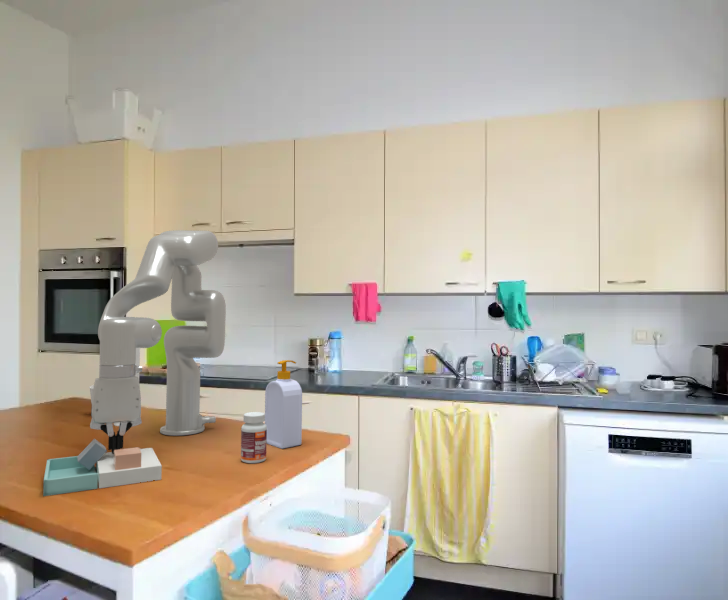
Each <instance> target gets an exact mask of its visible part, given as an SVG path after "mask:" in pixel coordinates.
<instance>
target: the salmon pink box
mask: <svg viewBox="0 0 728 600" xmlns="http://www.w3.org/2000/svg"><path fill="white" fill-rule="evenodd" d="M140 449H141V448H140V447H137V446H136V447H128V448H122V449H118V450H114V467H115V470H121V469H129V468H137V467H141V451H140Z"/></svg>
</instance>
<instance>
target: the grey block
mask: <svg viewBox="0 0 728 600" xmlns="http://www.w3.org/2000/svg"><path fill="white" fill-rule="evenodd" d="M107 452H108V451H107V448H106V446H105V445H103V444H102V443H101V442H100V441H98V440H97V439H96V438H93V439H92V440H91V442H90V443H89V444H88V445H87V446H85V448H84V449H83V450H82V451H81V452H80V453H79V454H78V455H76V456H77V459H78V462H79V463H80V464H82V465H83V466H85V467H86V468H87V469H89V470H90V469H91V468H92V466H93V465H94V464H95V465H96V462H97V461H98V460H99V459H100V458H101V457H102V456H103V455H104V453H107Z"/></svg>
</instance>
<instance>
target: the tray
mask: <svg viewBox="0 0 728 600" xmlns="http://www.w3.org/2000/svg"><path fill="white" fill-rule="evenodd" d="M77 456H78V455H76V456H75V455H74V456H67V457H56V458H49V459H48V458H47V459H46V466H45V470H44V471H45V472H44V475H43V476H44V477H43V494H42V495H43V496H42V497H47V496H53V495H54V496H55V495H62V494H69V493H75V492H76V493H77V492H82V491H89V490H90V491H91V490H96V489H98V473H97V470H96V463H95V464H94V465H93V466H92V468H91V469H90V470H89V469H87V468H86V467H85V466H83V465H82V464H80V463H79V462H78V459H77Z"/></svg>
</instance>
